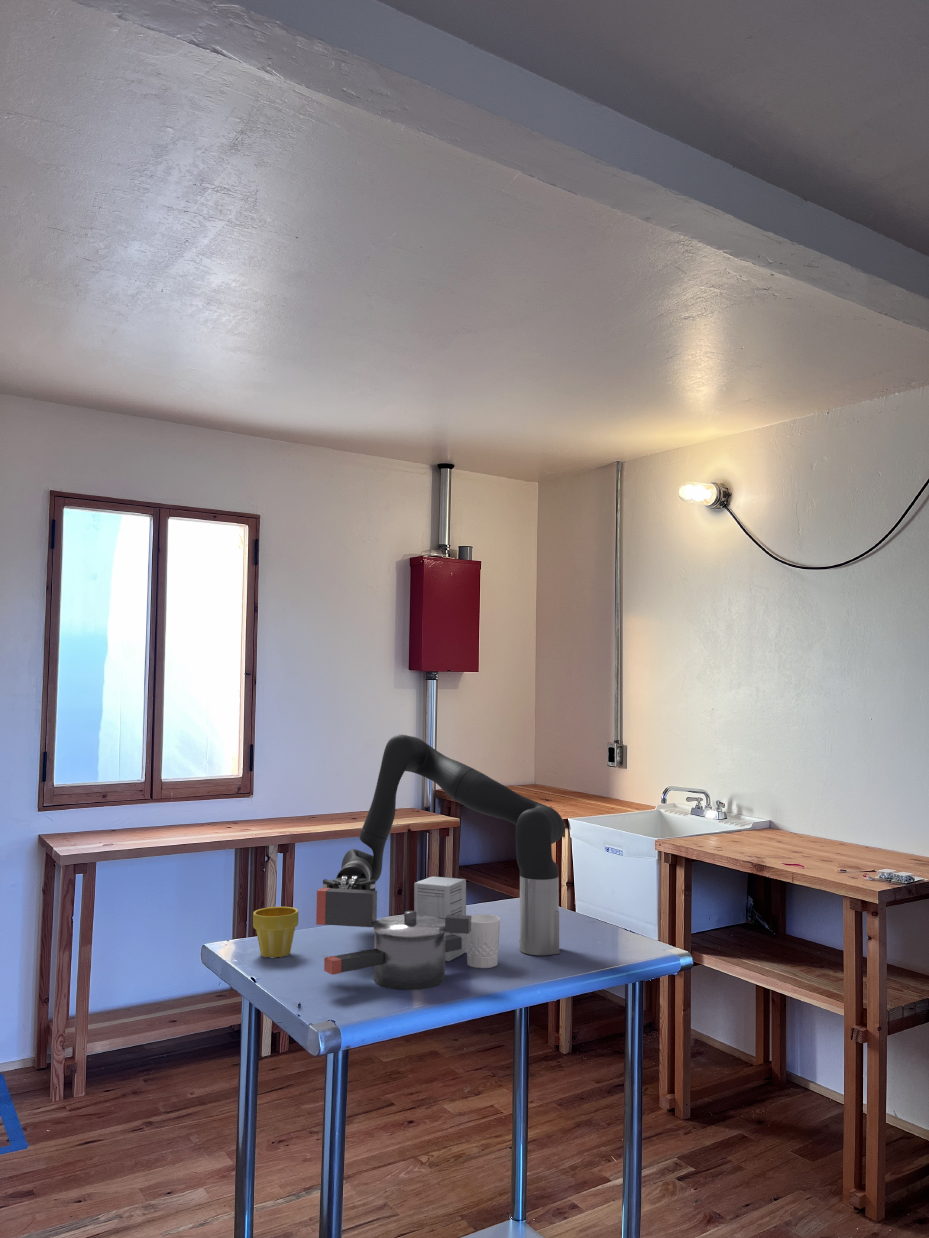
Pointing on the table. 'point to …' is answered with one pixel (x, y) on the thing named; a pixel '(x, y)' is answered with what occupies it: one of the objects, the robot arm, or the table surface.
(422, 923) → the lid
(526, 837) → the robot arm
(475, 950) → the white cup
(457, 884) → the supplement box
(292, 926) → the plant pot
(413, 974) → the pot
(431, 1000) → the table surface
